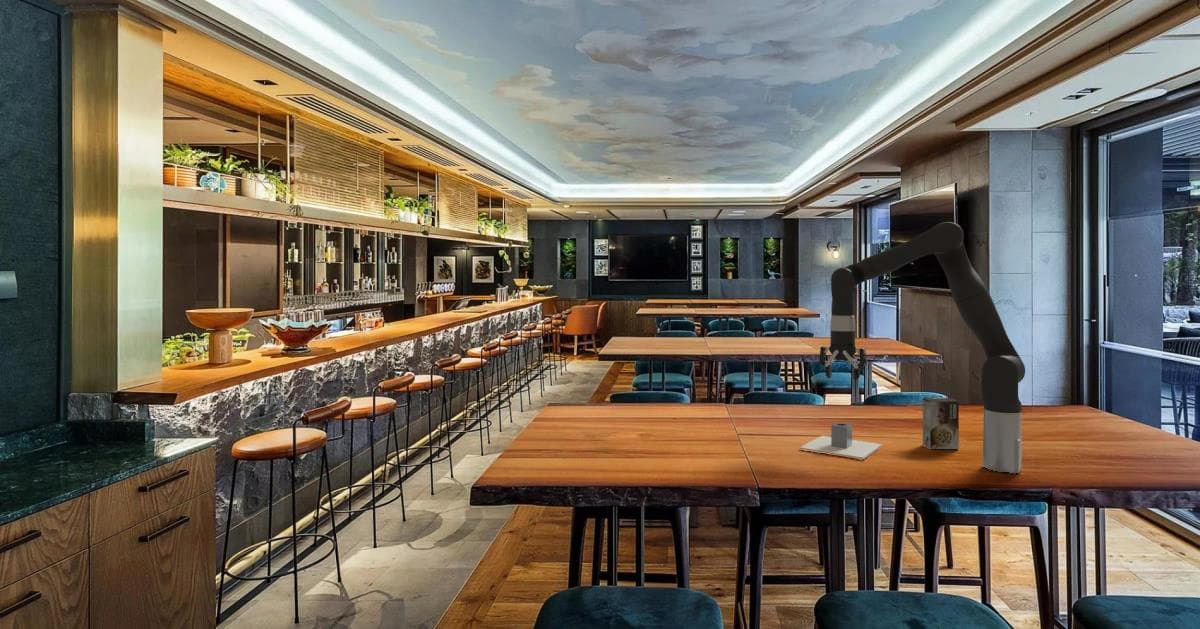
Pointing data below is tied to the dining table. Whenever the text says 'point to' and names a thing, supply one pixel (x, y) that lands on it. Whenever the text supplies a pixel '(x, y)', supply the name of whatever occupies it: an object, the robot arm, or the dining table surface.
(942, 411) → the coffee box
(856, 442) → the pin plate
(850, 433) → the block
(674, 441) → the dining table surface
